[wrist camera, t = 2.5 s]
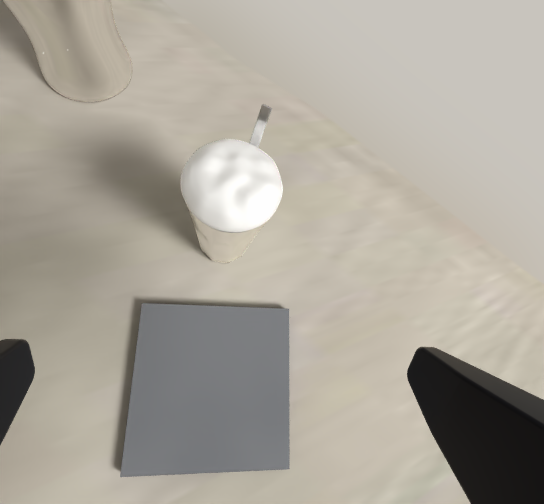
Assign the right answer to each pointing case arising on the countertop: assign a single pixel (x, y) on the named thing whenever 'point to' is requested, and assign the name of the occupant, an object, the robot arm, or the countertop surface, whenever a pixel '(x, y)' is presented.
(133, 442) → the coaster
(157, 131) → the countertop surface
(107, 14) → the beer glass
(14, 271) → the countertop surface
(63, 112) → the countertop surface
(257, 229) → the milkshake
